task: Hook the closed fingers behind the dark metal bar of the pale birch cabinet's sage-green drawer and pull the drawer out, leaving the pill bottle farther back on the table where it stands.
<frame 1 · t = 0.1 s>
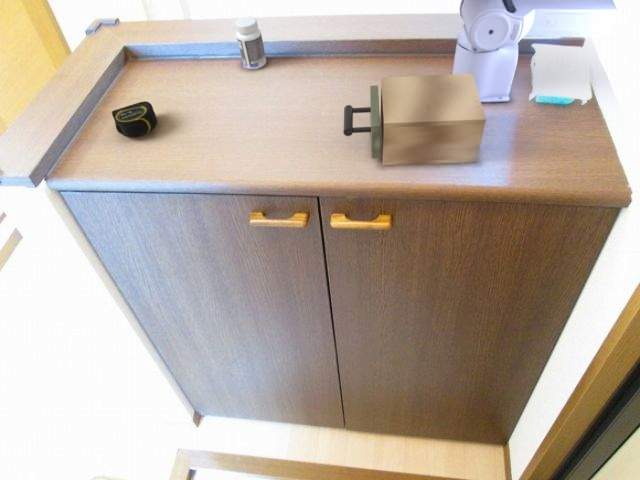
pill bottle: (255, 64, 92), on the table
tape measure: (138, 129, 81), on the table
drawer: (398, 120, 70), point 4 cm above the table, slide at 0.5 cm
cabinet: (425, 139, 72), on the table
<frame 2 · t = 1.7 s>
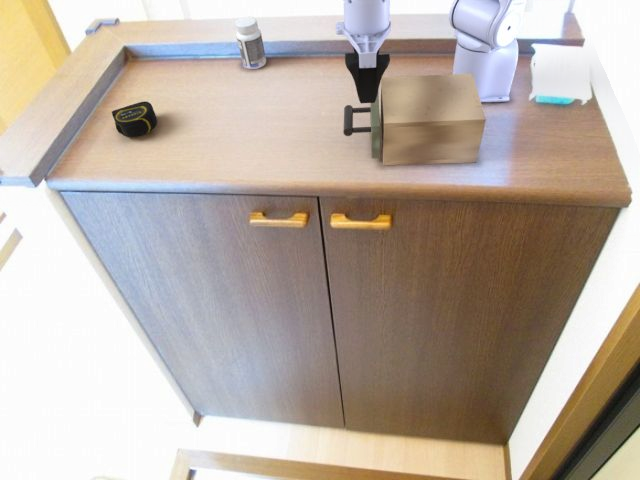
hand: (367, 88, 66), 9 cm above the table, tool pointing down, fingers open, 6 cm apart
nothing on the table moved.
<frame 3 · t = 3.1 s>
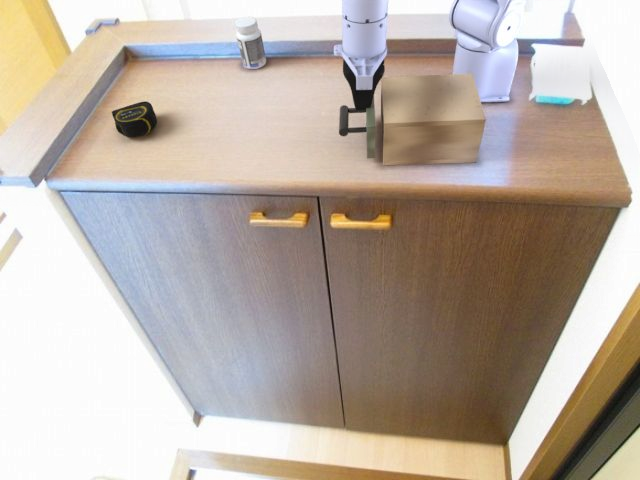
hand: (362, 107, 68), 6 cm above the table, tool pointing down, fingers closed, pressing on drawer
drawer: (394, 120, 70), point 4 cm above the table, slide at 1.2 cm, touching gripper
everything else where it was.
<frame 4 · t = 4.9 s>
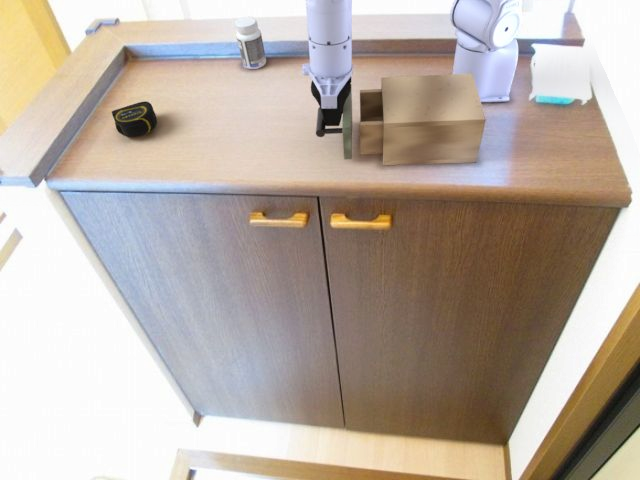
hand: (332, 123, 70), 4 cm above the table, tool pointing down, fingers closed, pressing on drawer
drawer: (371, 121, 70), point 4 cm above the table, slide at 4.6 cm, touching gripper
everything else where it was.
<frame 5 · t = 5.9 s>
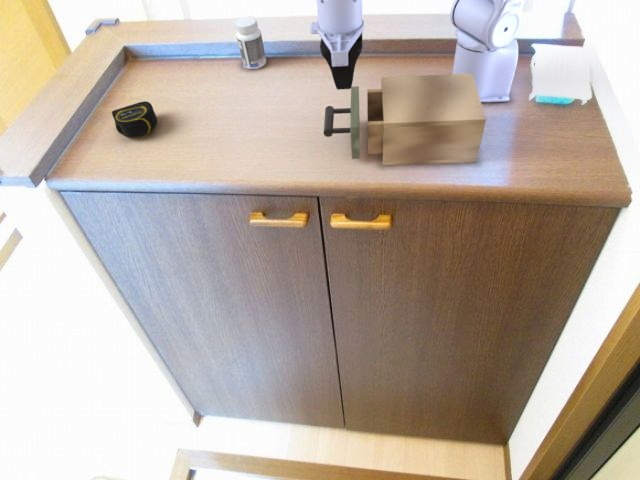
hand: (343, 86, 67), 9 cm above the table, tool pointing down, fingers closed
drawer: (379, 121, 70), point 4 cm above the table, slide at 3.5 cm
everything else where it was.
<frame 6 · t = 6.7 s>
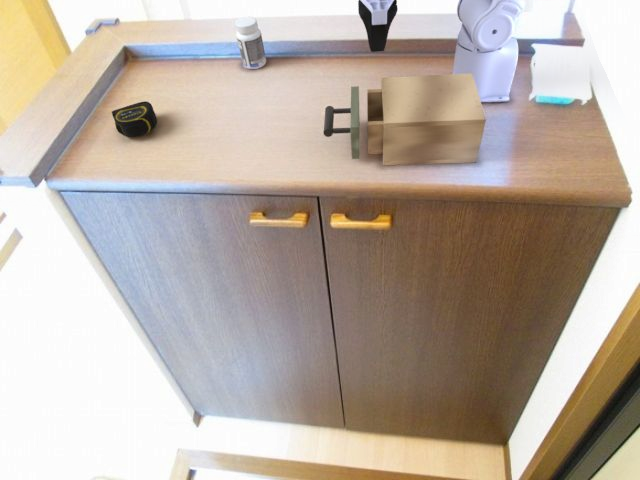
hand: (377, 49, 73), 9 cm above the table, tool pointing down, fingers closed
nothing on the table moved.
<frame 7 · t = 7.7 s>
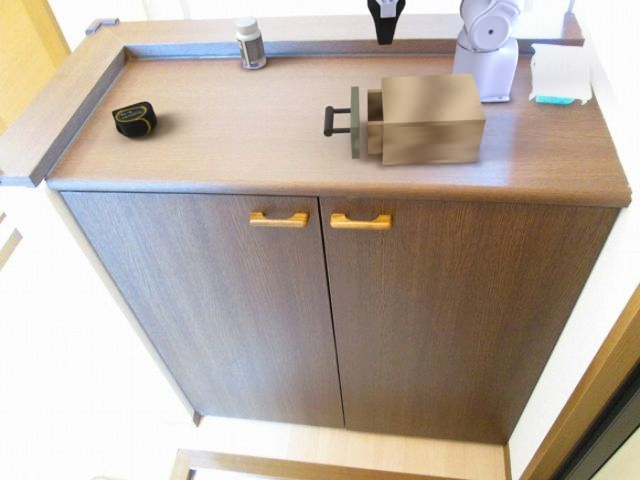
hand: (384, 42, 74), 9 cm above the table, tool pointing down, fingers closed
nothing on the table moved.
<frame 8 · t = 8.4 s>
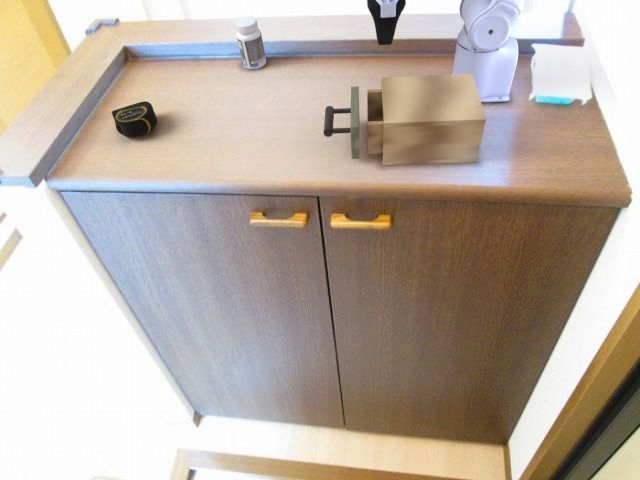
hand: (384, 42, 74), 9 cm above the table, tool pointing down, fingers closed
nothing on the table moved.
at the end: drawer slide at 3.5 cm; pill bottle moved 0.2 cm from its start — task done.
